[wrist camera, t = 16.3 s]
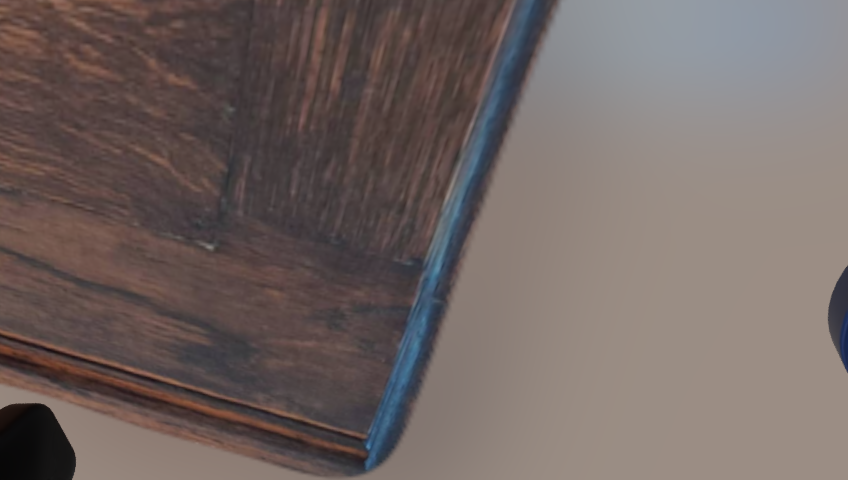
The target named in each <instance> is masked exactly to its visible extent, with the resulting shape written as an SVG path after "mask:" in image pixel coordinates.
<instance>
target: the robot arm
mask: <svg viewBox="0 0 848 480" xmlns="http://www.w3.org/2000/svg"><path fill="white" fill-rule="evenodd" d="M75 467H76V457H75V453H74V450H73V448H72V446H71V444H70V443H69V441H68V439H67V437H66V435H65V433H64V432H63V430H62V428H61V426H60V424H59V423H58V421H57V419H56V417H55V416H54V414H53V412H52V411H51V409H50V408H49V407H47V406H46V405H44V404H39V403H27V404H11V405H8V406H6V407H4V408H2V409H0V480H72V478H73V475H74V472H75Z"/></svg>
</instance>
